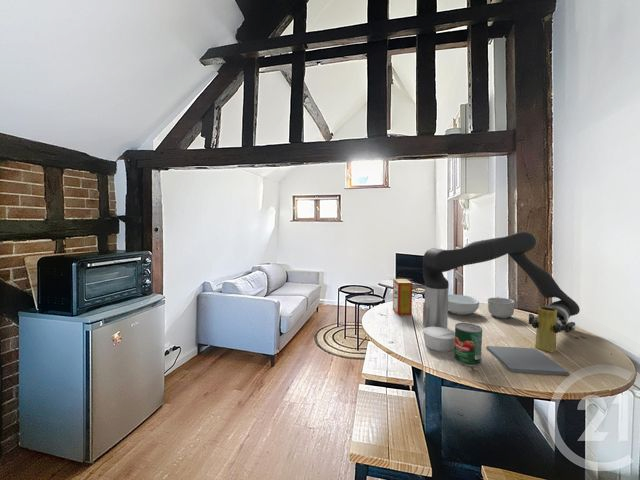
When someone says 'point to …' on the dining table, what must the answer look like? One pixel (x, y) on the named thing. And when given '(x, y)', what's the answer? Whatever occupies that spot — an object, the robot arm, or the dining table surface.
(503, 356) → the slate mat
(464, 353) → the canned tomato
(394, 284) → the baking soda box
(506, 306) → the teacup
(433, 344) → the ramekin
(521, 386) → the dining table surface
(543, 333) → the vase
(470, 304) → the cereal bowl
